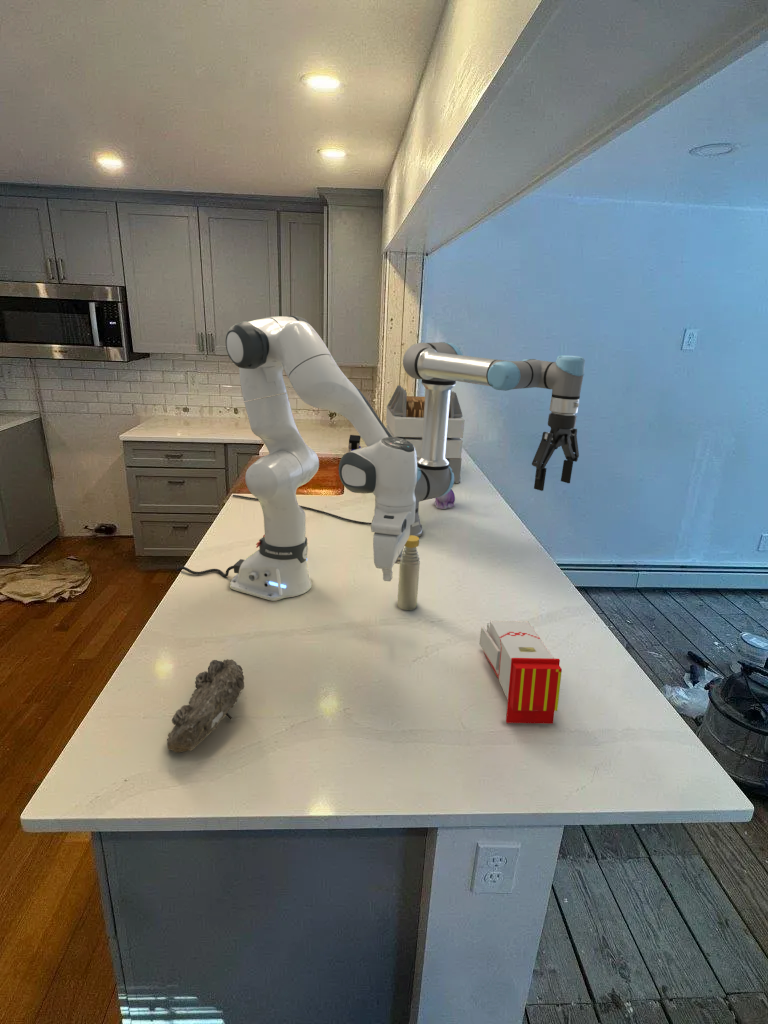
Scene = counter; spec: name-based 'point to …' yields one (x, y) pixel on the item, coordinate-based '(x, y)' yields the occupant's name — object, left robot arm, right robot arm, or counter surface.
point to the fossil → (206, 705)
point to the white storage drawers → (408, 425)
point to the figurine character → (354, 442)
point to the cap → (412, 542)
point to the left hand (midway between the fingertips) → (392, 570)
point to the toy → (523, 670)
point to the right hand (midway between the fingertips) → (552, 485)
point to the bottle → (408, 579)
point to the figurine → (445, 500)
